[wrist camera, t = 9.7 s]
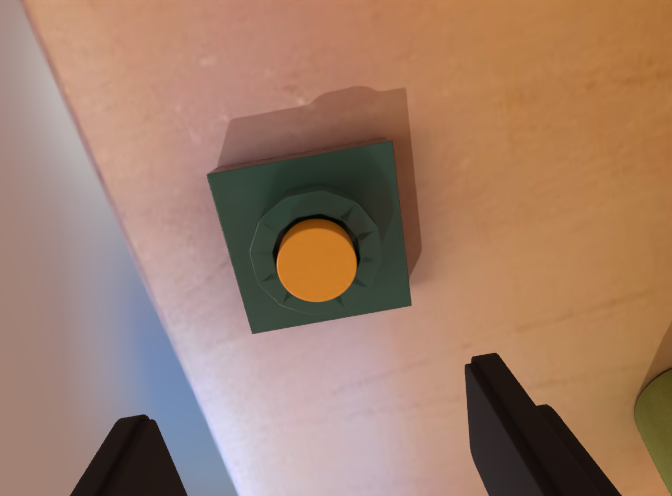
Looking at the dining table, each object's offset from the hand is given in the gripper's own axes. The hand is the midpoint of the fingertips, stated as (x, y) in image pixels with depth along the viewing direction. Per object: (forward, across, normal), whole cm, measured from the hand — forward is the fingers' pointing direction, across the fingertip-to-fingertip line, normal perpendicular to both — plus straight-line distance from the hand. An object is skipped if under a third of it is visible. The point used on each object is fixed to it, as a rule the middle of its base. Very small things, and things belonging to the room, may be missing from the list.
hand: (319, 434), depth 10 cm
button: (+12, 0, 0) cm, 12 cm away
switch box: (+16, 0, 0) cm, 16 cm away
